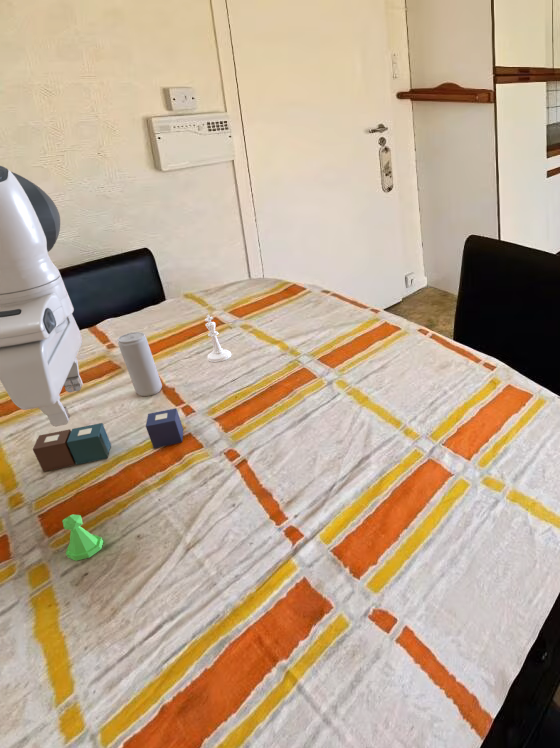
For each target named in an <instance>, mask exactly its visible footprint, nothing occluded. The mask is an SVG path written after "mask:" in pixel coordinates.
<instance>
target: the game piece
mask: <svg viewBox="0 0 560 748" xmlns="http://www.w3.org/2000/svg"><path fill="white" fill-rule="evenodd" d="M62 525H63V529H64V530H67V531H70V533H69V544H68V546H67V548H66V550H65V555H66V557H67V558H68V559H71V560H72V561H75V562H77V561H81V560H86V559H89V558H91V557H92V556H94V555H95V554H97V553H98V552H99V551H101V550H102V549H103V548H102V547H103V544H104V540H103V537H101V536H99V535H96V534H92V533H91V532H89V531H88V530H86V529H85V528H83V527H82V525H84V523H83V519H82V515H81V514H70V515H68V516H66V517H65V518H64V519H62Z"/></svg>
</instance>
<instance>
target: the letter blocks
mask: <svg viewBox="0 0 560 748" xmlns="http://www.w3.org/2000/svg"><path fill="white" fill-rule="evenodd" d="M145 429H146V432H147V434H148V437H149V440H150V442H151V445H152V448H153V449H157V448H162V447H166V446H171V445H177V444H181V443H183V438H184V426H183V424H182V421H181V418H180V415H179V411H178V409H177V408H171V409H165V410H159V411H155V412H150V413H148V414H147V417H146V423H145ZM111 447H112V444H111V441H110V438H109V435H108V433H107V431H106V428H105V426H104V423H103V422H99V423H95V424H90V425H84V426H80V427H75V428H72V429H71V428H70V429H64V430H60V431H55V432H54V431H53V432H49V433H45V434H39V435H38V438H37V439H36V441H35V443H34V446H33V448H32V451H33V453H34V455H35V458H36V459H37V461H38V464H39V466H40V468H41V470H42V472H49V471H55V470H59V469H62V468H63V469H64V468H67V467H72V466H75V465H81V464H87V463H91V462H95V461H96V462H97V461H101V460H106V459H108V457H109V453H110V450H111Z"/></svg>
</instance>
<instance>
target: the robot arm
mask: <svg viewBox="0 0 560 748" xmlns="http://www.w3.org/2000/svg"><path fill="white" fill-rule="evenodd" d="M60 231H61V216H60V211H59V209H58V207H57V205H56V203H55V202H54V200H53V199H52V198H51V197H50V196H49V195H48V193H46V192H45V191H44V190H43V189H42V188H40V187H39V186H38V185H37V184H35V183H34V182H33V181H30V180H29V179H28V178H25V177H24V176H23V175H20V174H17V173H15V172H13V171H11V170H10V169H9V168H7V167H5V166H3V165H0V383H1V385H2V386H3V388H4V389H5V392H6V393H7V395H8V396H9V398H10V400H11V402H12V403H13V404H14V405H15V406H16V407H18V408H19V409H21V410H23V411H26V410H27V411H29V410H35V409H39V410H40V411H41V412H42V413H43V414H44V415H46V416H47V419H48V421H49V423H50V425H51V426H52V427H61V426H66V425H68V424H69V422H70V421H69V420H70V418H71V414H70V413H69V410H68V406H64V405H63V403H62V402H61V396H60V394H61V392H62V390H63V387H64V390H65V392H67V393H74V392H80V391H81V389H82V388H83V385H84V383H83V380H82V378H81V375H80V368H79V361H78V358H77V356H78V353H79V351H80V349H81V347H82V345H83V337H82V333H81V331H80V327H79V326H78V324H77V322H76V320H75V317H74V315H73V313H74V311H75V308H74V305H73V303H72V300H71V298H70V296H69V292H68V291H67V287H66V285H65V282H64V280H63V277H62V275H61V272H60V270H59V268H58V267H57V266H56V265H55V264H54V262H53V261H52V259H51V257H50V254H49V252H50V251H51V250H52V249H53V248H54V247H55V245H56V243H57V240H58V238H59V235H60Z"/></svg>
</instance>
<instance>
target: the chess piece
mask: <svg viewBox="0 0 560 748" xmlns="http://www.w3.org/2000/svg"><path fill="white" fill-rule="evenodd" d="M212 320H214V316H210V314H207V315H206V318H205V319H204V321H205V322H206V323H205V327H206V329H207V330H208V331H209V332H208V333H207V336H208V337H211V342H212V351H211V352H210V353H208V354H207V361H208V362H211V363H218V362H223V361H226V360H228V359H230V358H231V357H232V353H231V351H230V350H228V349H224V348H223V347H222V346H221V344H220V342H219V340H218V337H217V336H218V335H219V334H220V333H219V332H218V331H217V330H216V326H217V325H216V322H215V321H212Z"/></svg>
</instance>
